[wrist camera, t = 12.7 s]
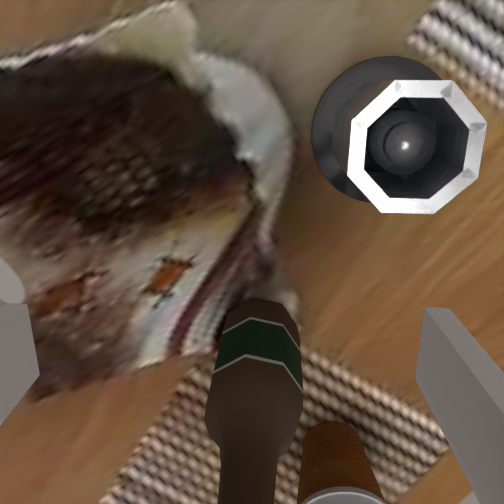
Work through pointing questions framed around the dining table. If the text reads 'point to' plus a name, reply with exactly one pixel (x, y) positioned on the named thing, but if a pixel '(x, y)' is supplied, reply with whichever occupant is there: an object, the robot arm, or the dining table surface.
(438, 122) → the sleeve
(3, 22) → the dining table surface
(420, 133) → the duct stub
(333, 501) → the disposable coffee cup
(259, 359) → the beer bottle
